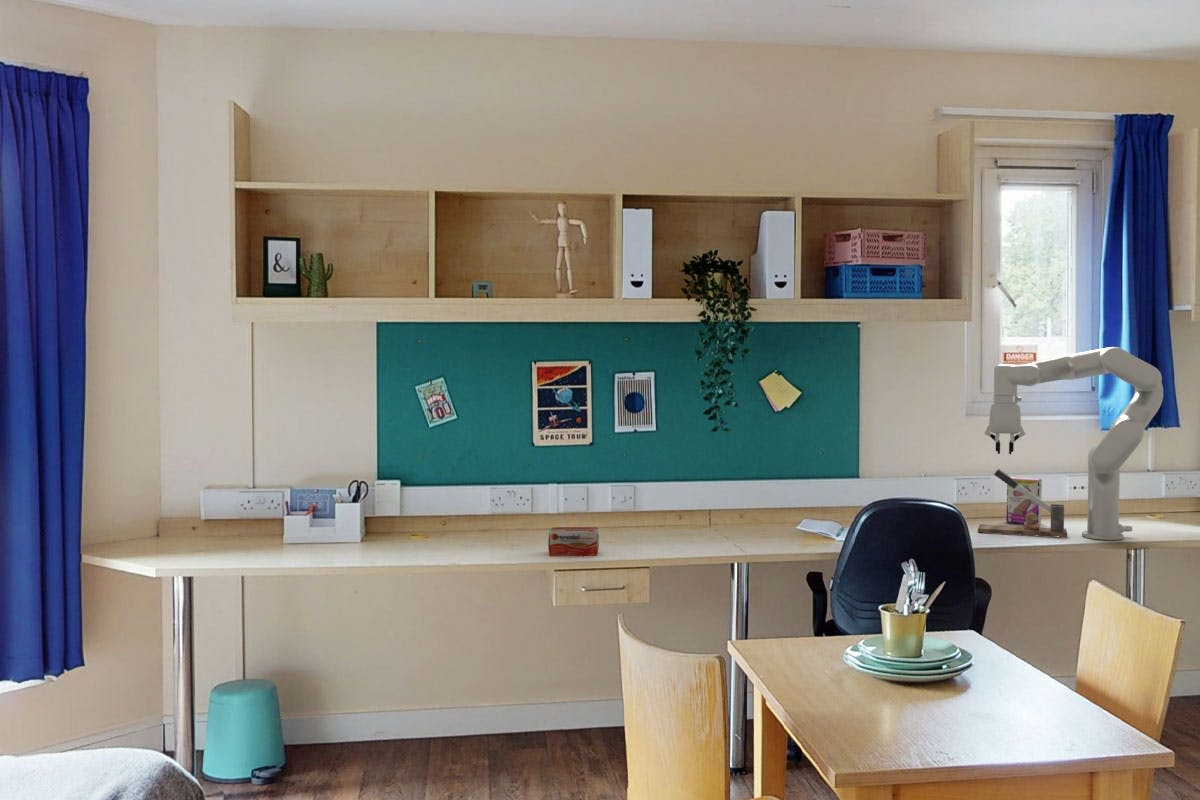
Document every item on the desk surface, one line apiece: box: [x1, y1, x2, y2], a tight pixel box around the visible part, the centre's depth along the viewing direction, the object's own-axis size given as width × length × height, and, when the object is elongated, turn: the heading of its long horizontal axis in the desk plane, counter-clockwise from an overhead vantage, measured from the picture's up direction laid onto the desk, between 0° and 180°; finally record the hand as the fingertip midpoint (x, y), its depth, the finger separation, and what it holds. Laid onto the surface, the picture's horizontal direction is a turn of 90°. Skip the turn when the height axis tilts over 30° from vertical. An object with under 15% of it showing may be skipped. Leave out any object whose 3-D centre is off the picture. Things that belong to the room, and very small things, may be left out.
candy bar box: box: [1005, 476, 1043, 525], centre depth 390 cm, size 11×5×16 cm, turn 58°
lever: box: [993, 468, 1051, 514], centre depth 369 cm, size 25×4×2 cm
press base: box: [977, 503, 1068, 538], centre depth 370 cm, size 28×10×10 cm, turn 68°
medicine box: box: [548, 526, 600, 558], centre depth 334 cm, size 15×8×8 cm, turn 87°
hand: (1004, 453), depth 371 cm, fingers open, 3 cm apart
